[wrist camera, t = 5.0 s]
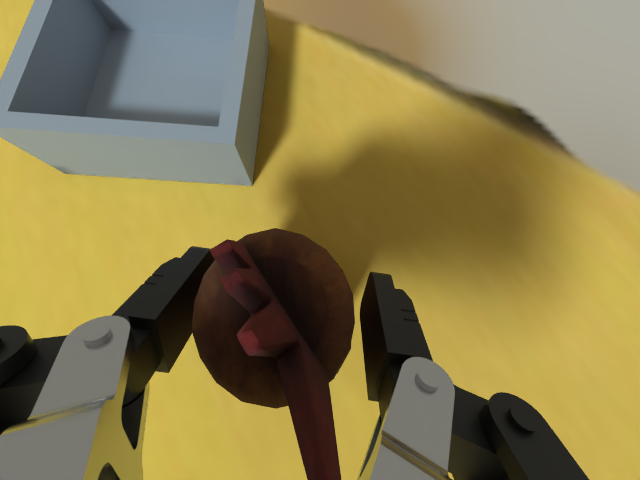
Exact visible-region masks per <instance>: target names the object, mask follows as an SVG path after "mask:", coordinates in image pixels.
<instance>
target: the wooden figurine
mask: <svg viewBox="0 0 640 480" xmlns="http://www.w3.org/2000/svg"><path fill="white" fill-rule="evenodd" d="M210 252H211V254H212V256H213V257H214V259H215V261H214V262H213V263H212V265H211V266H210V267H209V269H208V270H207V271H206V273H205V274H204V276H203V279H202V282H201V284H200V287H199V290H198V293H197V296H196V298H195V301H194V311H193V321H192V333H193V336H194V339H195V343H196V346H197V349H198V352H199V356H200V358H201V360H202V361H203V363H204V364H205V366H206V367H207V369H208V371H209V372H210V374H211V375H212V377H213V378H214V380H215V381H216V383H218V384H219V385H220V386H222V387H223V388H224V389H226V390H227V391H228V392H230V393H231V394H232V395H234V396H235V397H236V398H238V399H239V400H240V401H242V402H246V403H251V404H256V405H261V406H266V407H271V408H280V407H284V406H289V409H290V413H291V417H292V421H293V425H294V429H295V433H296V436H297V440H298V444H299V448H300V452H301V456H302V460H303V464H304V467H305V471H306V475H307V479H308V480H341V474H340V466H339V459H338V451H337V443H336V435H335V428H334V420H333V412H332V404H331V397H330V389H329V382H330V381H332V380H333V379H334V377H335V375H336V374H337V373H338V371H339V369H340V368H341V366H342V364H343V362H344V360H345V358H346V357H347V355H348V353H349V351H350V349H351V339H352V334H353V329H354V324H355V317H354V303H353V294H352V291H351V289H350V287H349V284H348V282H347V280H346V277H345V275H344V273H343V270H342V269H341V268H340V267H339V265H338V264H337V263H336V261H335V260H334V259H333V258H332V256H331V255H330V254H329V253H328V251H327V250H326V249H324V248H323V247H321V246H320V245H318V244H316V243H315V242H313V241H312V240H310V239H309V238H307V237H306V236H304V235H301V234H297V233H293V232H289V231H285V230H281V229H277V228H274V229H270V230H265V231H261V232H257V233H253V234H249V235H246V236H244V237H243V238H241V239H240V240H238V241H237V242H236V241H233V240H225V241H224V242H222V243H220V244H219V245H217V246H215V247H214V248H212V249H210Z"/></svg>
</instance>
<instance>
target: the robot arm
mask: <svg viewBox="0 0 640 480" xmlns="http://www.w3.org/2000/svg"><path fill="white" fill-rule="evenodd" d="M214 261H215V259H214V257H213V256H212V254H211V252H210V249H208V248H201V247H194V246H192V247H190V248H189V249H188V250H187V252H186V253H185V254H184V255H183V256H182V257H181V258H177V257H175V258H173V259H171V260H169V261H168V262H166V263H164V264H162V265H161V266H160V267H159V268H158V269H157V270H156V271H155V272H154V273H153V274H152V276H150V277H149V278H148V279H147V280H146V281H145V283H144V284H142V285H141V286H140V287H139V288H138V289H137V290H136V291H135V292H134V293H133V294H132V295H131V296H130V297H129V298H128V299H127V300H126V301H125V303H124V304H123V305H122V306H121V307H120V308H119V309H118V310H117V311H116V312H115V313H114V314H113V315H112V316H104V317H99V318H96V319H93V320H90V321H88V322H86V323H84V324H82V325H80V326H79V327H77V328H76V329H74V330H73V331H72V332H71V333H70V334H69V335H67V336H58V337H50V338H42V339H33V340H32V339H31V337H30V336H29V334H28V333H27V331H26V330H25V329H24V328H22V327H20V326H1V327H0V480H143V468H142V447H143V439H144V431H145V422H146V414H147V406H148V397H149V380H150V379H151V377H152V375H153V374H154V372H155V371H158V372H166V373H169V371H170V370H171V368H172V366H173V365H174V363H175V361H176V360H177V358H178V356H179V354H180V353H181V351H182V349H183V348H184V346H185V344H186V342H187V341H188V339H189V337H190V336H191V334H192V321H193V311H194V301H195V298H196V296H197V293H198V290H199V287H200V284H201V282H202V279H203V276H204V274H205V273H206V271H207V270H208V269H209V267H210V266H211V265H212V263H213V262H214ZM360 322H361V332H362V342H363V352H364V362H365V372H366V382H367V392H368V400H371V401H378V402H379V408H380V415H379V417H378V419H377V422H376V425H375V428H374V431H373V434H372V437H371V440H370V443H369V446H368V449H367V452H366V454H365V457H364V460H363V463H362V466H361V469H360V472H359V475H358V478H357V480H452V479H450V478H449V476H448V472H450V473H452V475H453V478H454V480H589V479H588V477H587V476H586V475H585V473H584V472H583V471H582V469H581V468H580V467H579V465H578V464H577V462H576V461H575V460H574V458H573V457H572V456H571V454H570V453H569V452H568V450H567V449H566V448H565V446H564V445H563V444H562V442H561V441H560V439H559V438H558V437H557V435H556V434H555V433H554V431H553V430H552V429H551V427H550V426H549V425H548V423H547V422H546V420H545V419H544V418H543V417H542V416H541V414H540V413H539V412H538V411H537V410H536V409H534V408H533V407H532V406H531V405H530V404H528V403H527V402H526V401H524V400H522V399H521V398H519V397H517V396H515V395H512V394H509V393H502V392H501V393H496V394H494V395H493V396H492V397H491V398H490V399H489V400H486V399H484V398H482V397H479V396H477V395H475V394H472V393H470V392H468V391H465V390H463V389H461V388H459V387H457V386H455V385H454V384H453V382H452V380H451V379H450V377H449V376H448V374H447V373H446V372H445V371H444V370H443V369H442V368H441V367H440V366H439V365H437V364H436V363H434V362H433V360H432V357H431V354H430V351H429V349H428V346H427V343H426V340H425V337H424V334H423V331H422V329H421V326H420V323H419V320H418V317H417V314H416V313H415V308H414V306H413V303H412V300H411V299H410V298H409V296H408V295H407V294H406V293H405V292H404V291H403V290H401V289H395V287H394V284H393V280H392V277H391V275H389V274H382V273H375V272H370V274H369V277H368V280H367V284H366V287H365V291H364V294H363V298H362V301H361V307H360Z"/></svg>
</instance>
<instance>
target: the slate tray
mask: <svg viewBox="0 0 640 480" xmlns="http://www.w3.org/2000/svg"><path fill="white" fill-rule="evenodd" d="M268 51H269V40H268V32H267V25H266V17H265V10H264V3H263V0H35V1H34V3H33V6H32V8H31V10H30V13H29V15H28V17H27V20H26V22H25V24H24V27H23V29H22V31H21V34H20V36H19V38H18V40H17V43H16V45H15V47H14V50H13V52H12V54H11V57H10V59H9V61H8V64H7V66H6V68H5V71H4V73H3V75H2V78H1V80H0V137H1V138H3V139H4V140H6V141H8V142H10V143H12V144H13V145H15V146H17V147H19V148H20V149H22V150H24V151H26V152H27V153H29V154H31V155H33V156H35V157H36V158H38V159H40V160H42V161H43V162H45V163H47V164H49V165H50V166H52V167H54V168H56V169H58V170H59V171H61V172H63V173H65V174H78V175H94V176H109V177H124V178H139V179H155V180H170V181H185V182H200V183H216V184H231V185H246V186H252V184H253V175H254V167H255V159H256V150H257V142H258V134H259V126H260V117H261V109H262V101H263V92H264V84H265V76H266V68H267V59H268Z"/></svg>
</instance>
